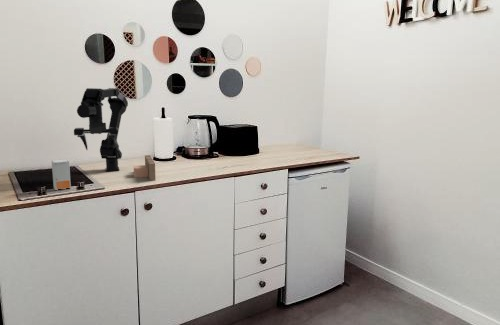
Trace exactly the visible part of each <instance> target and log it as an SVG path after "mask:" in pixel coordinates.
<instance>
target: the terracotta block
mask: <svg viewBox="0 0 500 325" xmlns="http://www.w3.org/2000/svg"><path fill="white" fill-rule="evenodd" d="M133 176H134V178H147V177H148V167H147V166H146V165H145V164H144V165H133Z"/></svg>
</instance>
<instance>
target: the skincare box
mask: <svg viewBox="0 0 500 325" xmlns="http://www.w3.org/2000/svg"><path fill="white" fill-rule="evenodd" d="M51 169H52V170H51V171H52V183H53V190H54V191H55V190H57V191H59V190H58V189H65V188H71V189H72V184H71V170H70V161H69V159H59V160H51ZM65 190H66V189H65Z"/></svg>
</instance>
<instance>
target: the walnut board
mask: <svg viewBox="0 0 500 325" xmlns="http://www.w3.org/2000/svg"><path fill="white" fill-rule="evenodd" d="M144 165H146V166H147V167H148V179H149V181H156V163H155V161H154V160H153V157H152V156H151V155H150V154H147V155H146V154H145V155H144Z"/></svg>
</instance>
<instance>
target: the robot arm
mask: <svg viewBox="0 0 500 325" xmlns="http://www.w3.org/2000/svg"><path fill="white" fill-rule="evenodd" d="M82 95H83V96H82V99H81V101H80V105H78V107H77V109H76V113H77V115H78V116H79V117H80V118H82V119H85V118H88V121H89V122H88V129H85V128H84V127H75V128H74V129H73V136H76V137H77V138H80V140H81V141H82V143H83V145H84V148H85V150H86V151H88V142H87V137H86V134H91V135H94V134H96V135H97V134H98V135H101V134H107V136H106V137H105V139H102V140H101V143H100V147H99V153H100V154H99V155H100V157H101V159H105V172H118V171H120V167H119V160H121V159H122V158H123V156H122V155H123V152H122V151H121V150H120V145H119V143H118V136H119V130H120V125H121V119H122V116H123V114H124V113H126V111H127V107H128V105H129V104H128V102H129V100H127V97H126V96H125V95H124V94H123V93H121V92H120V90H119V89H118V88H113V87H112V88H111V87H108V88H95V87H94V88H93V87H90V88H89V87H87V88H86V89H85V91H84V93H83V94H82ZM105 98H107V103H108V104H109V109H110V111H111V115H110V119H109V120H110V121H109V124H108V125H109V126H108V128H107V123H106V122H103V106H104V103H103V102H102V101H103V100H104V101H105Z"/></svg>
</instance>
